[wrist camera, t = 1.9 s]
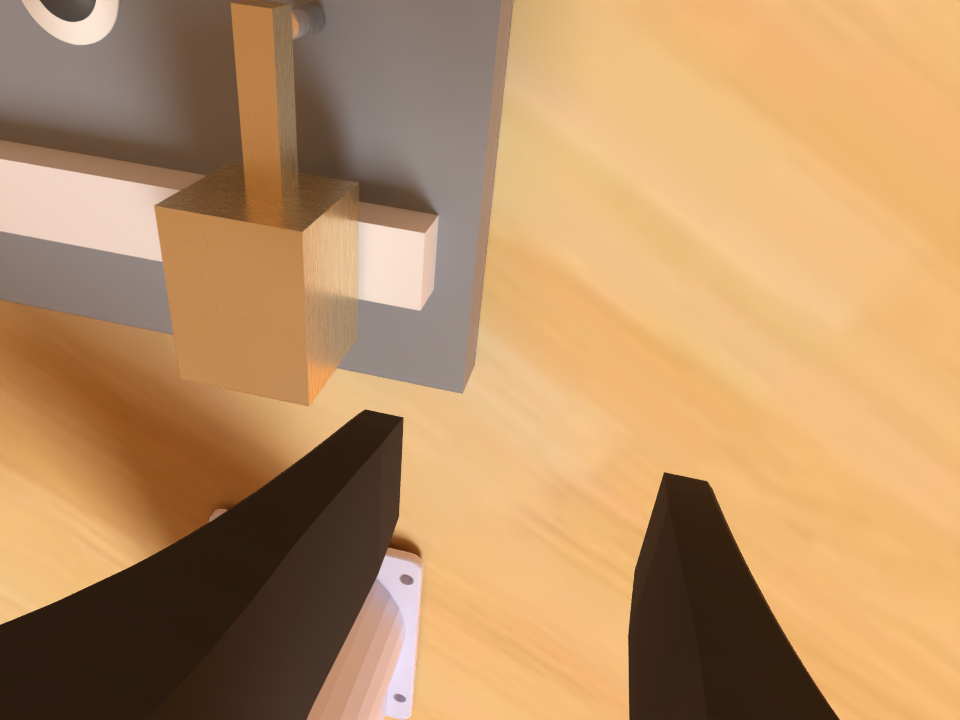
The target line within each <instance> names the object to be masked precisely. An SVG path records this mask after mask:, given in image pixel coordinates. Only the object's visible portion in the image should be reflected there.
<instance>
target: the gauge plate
mask: <svg viewBox="0 0 960 720" xmlns="http://www.w3.org/2000/svg"><path fill="white" fill-rule="evenodd" d="M238 1H242V0H0V300H5V301H10V302H15V303H20V304H25V305H29V306H34V307H39V308H44V309H49V310H54V311H59V312H64V313H69V314H74V315H79V316H83V317H88V318H93V319H98V320H103V321H108V322H113V323H118V324H123V325H128V326H133V327H138V328H142V329H147V330H152V331H157V332H162V333H167V334H172V335H174V334H173V328H172V321H171V315H170V308H169V301H168V295H167V288H166V281H165V275H164V268H163V261H162V255H161V248H160V241H159V235H158V228H157V221H156V215H155V208H154V205H156V204H158V203H159V202H161V201H163V200H165V199H166V198H168V197H170V196H172V195H173V194H175V193H177V192H179V191H181V190H182V189H184V188H186V187H188V186H189V185H191V184H193V183H195V182H196V181H198V180H200V179H202V178H203V177H205V176H207V175H209V174H210V173H212V172H214V171H216V170H217V169H219V168H221V167H223V166H224V165H226V164H228V163H230V162H231V161H234V162H240V163H243V152H242V139H241V127H240V114H239V101H238V89H237V76H236V64H235V51H234V39H233V26H232V14H231V3H233V2H238ZM265 1H273V2H280V3H287V4H291V7H294V6H298V5H302V4H306V3H315V4H317V5H319V6H320V7H321V8H322V10H323V11H324V13H325V16H326V24H325V27H324V29H323V30H322V31H321V32H319V33H316V34H313V35H310V36H307V37H305V38H302V39H299V40H296V41H293V60H294V85H295V110H296V135H297V161H298V172H299V173H305V174H311V175H317V176H323V177H329V178H335V179H341V180H347V181H353V182H359V269H358V340H357V341H356V342H355V344H354V345H353V346H352V348H351V349H350V351H349V352H348V353H347V355H346V356H345V357H344V359H343V360H342V362H341V363H340V364H339V366H338V367H337V368H339V369H344V370H349V371H354V372H359V373H363V374H368V375H373V376H378V377H383V378H388V379H393V380H398V381H403V382H408V383H413V384H418V385H422V386H427V387H432V388H437V389H442V390H447V391H452V392H457V393H463V391H464V389H465V386H466V384H467V382H468V379H469V377H470V375H471V372H472V370H473V368H474V364H475V355H476V346H477V336H478V327H479V317H480V308H481V299H482V289H483V280H484V271H485V261H486V252H487V242H488V233H489V224H490V214H491V205H492V196H493V186H494V177H495V167H496V158H497V149H498V139H499V130H500V120H501V111H502V102H503V92H504V83H505V74H506V64H507V55H508V45H509V36H510V27H511V17H512V8H513V0H265Z"/></svg>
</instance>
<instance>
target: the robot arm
mask: <svg viewBox="0 0 960 720" xmlns="http://www.w3.org/2000/svg"><path fill="white" fill-rule="evenodd" d="M402 439H403V417H398V416H394V415H389V414H384V413H379V412H375V411H370V410H364V411H362V412H361V413H359V414H358V415H356V416H355V417H354V418H353V419H351V420H350V421H349V422H347V423H346V424H345V425H344V426H342V427H341V428H340V429H339V430H337V431H336V432H335V433H334V434H332V435H331V436H330V437H328V438H327V439H326V440H325V441H323V442H322V443H321V444H320V445H318V446H317V447H316V448H314V449H313V450H312V451H310V452H309V453H308V454H307V455H305V456H304V457H303V458H301V459H300V460H299V461H297V462H296V463H295V464H293V465H292V466H291V467H289V468H288V469H286V470H285V471H284V472H282V473H281V474H280V475H278V476H277V477H276V478H274V479H273V480H271V481H270V482H269V483H267V484H266V485H265V486H263V487H262V488H260V489H259V490H257V491H256V492H255V493H253V494H252V495H250V496H249V497H247V498H245V499H244V500H242V501H241V502H239V503H238V504H236V505H235V506H233V507H232V508H230V509H229V510H227V509H217V510H215V512H214V513H213V514H212V515H211V517H210V518H209V523H207V524H206V525H204V526H202V527H201V528H199V529H197V530H196V531H194V532H193V533H191V534H189V535H188V536H186V537H184V538H182V539H181V540H179V541H177V542H176V543H174V544H172V545H170V546H168V547H167V548H165V549H163V550H161V551H159V552H158V553H156V554H154V555H152V556H150V557H149V558H147V559H145V560H143V561H141V562H139V563H137V564H135V565H133V566H131V567H129V568H127V569H125V570H123V571H121V572H119V573H117V574H114V575H112V576H110V577H108V578H106V579H104V580H102V581H100V582H97V583H95V584H93V585H91V586H89V587H87V588H85V589H83V590H81V591H78V592H76V593H74V594H72V595H70V596H68V597H66V598H64V599H61V600H59V601H57V602H55V603H52V604H50V605H48V606H45V607H43V608H40V609H38V610H36V611H33V612H31V613H28V614H26V615H23V616H21V617H19V618H16V619H14V620H11V621H9V622H6V623H4V624H1V625H0V720H384V718H385V716H389V717H393V718H396V719H402V720H403V719H407V718H409V717H410V715H411V712H412V709H413V700H414V687H415V673H416V660H417V647H418V634H419V621H420V607H421V594H422V581H423V568H424V565H423V561H422V560H421V558H420V557H418V556H417V555H416V554H413V553H410V552H406V551H402V550H397V549H393V548H389V547H388V546H389V543H390V540H391V538H392V535H393V532H394V529H395V526H396V523H397V520H398V517H399V502H400V481H401V460H402ZM407 575H409V576H411V577H409V576H407ZM628 645H629V717H630V720H840V719H839V718H838V717H837V715H836V714H835V712H834V711H833V710H832V708H831V707H830V705H829V704H828V702H827V701H826V699H825V698H824V696H823V695H822V693H821V692H820V690H819V689H818V687H817V686H816V684H815V682H814V681H813V679H812V678H811V676H810V675H809V673H808V672H807V670H806V668H805V667H804V665H803V663H802V662H801V660H800V659H799V657H798V655H797V654H796V652H795V650H794V649H793V647H792V645H791V644H790V642H789V641H788V639H787V637H786V636H785V634H784V632H783V630H782V629H781V627H780V625H779V623H778V622H777V620H776V618H775V616H774V615H773V613H772V611H771V609H770V607H769V605H768V604H767V602H766V600H765V598H764V596H763V594H762V592H761V591H760V589H759V587H758V585H757V583H756V581H755V579H754V578H753V576H752V574H751V572H750V570H749V568H748V566H747V564H746V562H745V560H744V558H743V556H742V554H741V552H740V550H739V548H738V545H737V543H736V541H735V539H734V537H733V535H732V533H731V531H730V528H729V526H728V524H727V522H726V520H725V517H724V515H723V513H722V511H721V508H720V506H719V504H718V501H717V499H716V497H715V494H714V492H713V489H712V488H711V486H710V485H709V483H708V482H707V481H703V480H698V479H693V478H689V477H684V476H679V475H674V474H669V473H665V472H664V475H663V478H662V481H661V485H660V488H659V491H658V495H657V498H656V501H655V505H654V508H653V511H652V515H651V518H650V521H649V525H648V528H647V531H646V535H645V538H644V541H643V545H642V548H641V552H640V555H639V558H638V562H637V565H636V568H635V574H634V583H633V593H632V602H631V613H630V623H629V634H628Z"/></svg>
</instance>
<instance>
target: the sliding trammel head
mask: <svg viewBox="0 0 960 720" xmlns="http://www.w3.org/2000/svg"><path fill="white" fill-rule="evenodd" d="M231 14H232V26H233V39H234V51H235V64H236V76H237V89H238V101H239V114H240V127H241V139H242V152H243V163H240V162H234V161H231V162H230V163H228V164H226V165H224V166H223V167H221V168H219V169H217V170H216V171H214V172H212V173H210V174H209V175H207V176H205V177H203V178H202V179H200V180H198V181H196V182H195V183H193V184H191V185H189V186H188V187H186V188H184V189H182V190H181V191H179V192H177V193H175V194H173V195H172V196H170V197H168V198H166V199H165V200H163V201H161V202H159V203H158V204H156V205H154V208H155V215H156V221H157V228H158V235H159V241H160V248H161V255H162V261H163V268H164V275H165V281H166V288H167V295H168V301H169V308H170V315H171V321H172V328H173V334H174V341H175V348H176V354H177V361H178V368H179V374H180V379H182V380H187V381H192V382H196V383H201V384H206V385H211V386H215V387H220V388H225V389H229V390H234V391H239V392H244V393H248V394H253V395H258V396H262V397H267V398H272V399H277V400H281V401H286V402H291V403H295V404H300V405H305V406H310V404H311V403H312V401H313V400H314V399H315V397H316V396H317V395H318V393H319V392H320V390H321V389H322V388H323V386H324V385H325V384H326V382H327V381H328V379H329V378H330V377H331V375H332V374H333V373H334V371H335V370H336V368H337V367H338V366H339V364H340V363H341V362H342V360H343V359H344V357H345V356H346V355H347V353H348V352H349V351H350V349H351V348H352V346H353V345H354V344H355V342H356V341H357V340H358V269H359V182H353V181H347V180H341V179H335V178H329V177H323V176H317V175H311V174H305V173H299V172H298V161H297V135H296V110H295V85H294V60H293V41H296V40H299V39H302V38H305V37H307V36H310V35H313V34H316V33H319V32H321V31H322V30H323V29H324V27H325V24H326V16H325V13H324V11H323V10H322V8H321V7H320V6H319V5H317V4H315V3H306V4H302V5H298V6H294V7H291V4H287V3H280V2H273V1H265V0H242V1H238V2H233V3H231Z"/></svg>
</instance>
